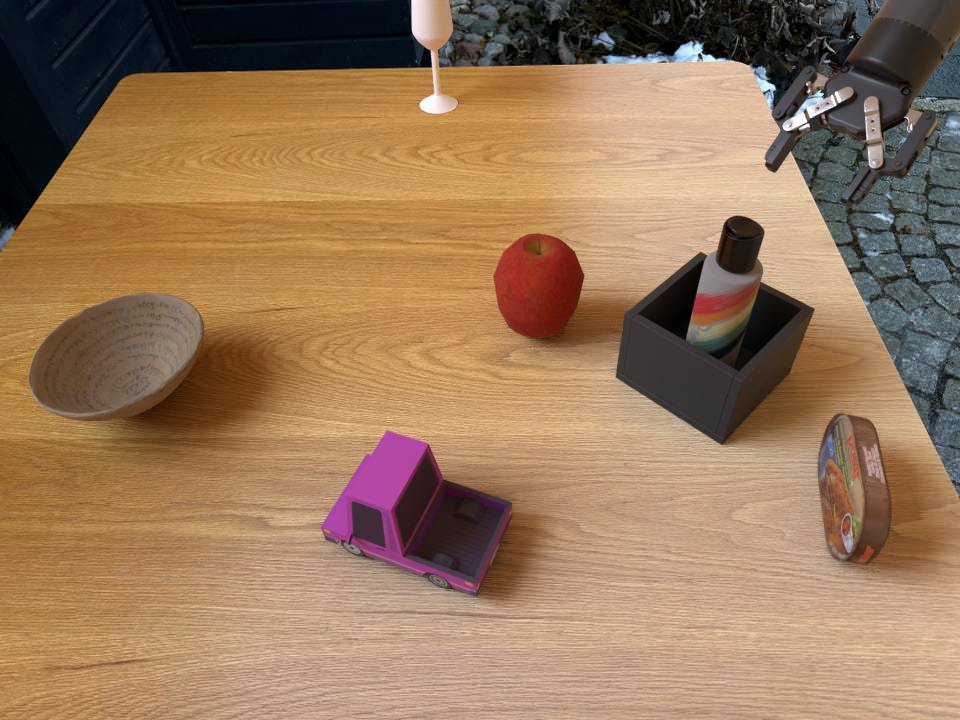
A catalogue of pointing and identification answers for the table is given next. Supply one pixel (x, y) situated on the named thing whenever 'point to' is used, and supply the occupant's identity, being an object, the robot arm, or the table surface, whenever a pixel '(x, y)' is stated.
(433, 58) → the champagne flute
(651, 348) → the bin
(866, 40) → the robot arm
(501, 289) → the apple
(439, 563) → the toy truck
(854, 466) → the tin
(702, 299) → the lotion bottle
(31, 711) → the table surface
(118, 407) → the bowl
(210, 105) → the table surface
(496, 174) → the table surface
